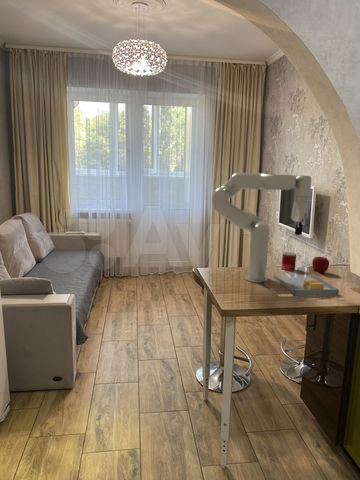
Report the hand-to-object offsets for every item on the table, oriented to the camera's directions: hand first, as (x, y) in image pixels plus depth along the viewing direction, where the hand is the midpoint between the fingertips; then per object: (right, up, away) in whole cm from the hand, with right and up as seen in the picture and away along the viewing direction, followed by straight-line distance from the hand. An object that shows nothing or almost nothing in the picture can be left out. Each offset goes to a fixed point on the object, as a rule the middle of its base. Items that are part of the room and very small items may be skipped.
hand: (298, 234), depth 192 cm
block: (+5, -28, -8) cm, 30 cm away
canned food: (+3, -22, +30) cm, 37 cm away
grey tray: (+3, -28, 0) cm, 28 cm away
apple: (+22, -23, +28) cm, 42 cm away
